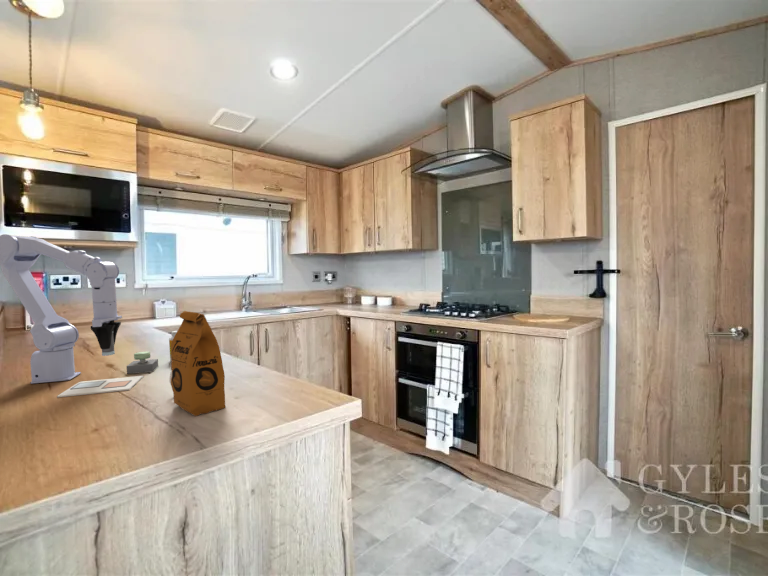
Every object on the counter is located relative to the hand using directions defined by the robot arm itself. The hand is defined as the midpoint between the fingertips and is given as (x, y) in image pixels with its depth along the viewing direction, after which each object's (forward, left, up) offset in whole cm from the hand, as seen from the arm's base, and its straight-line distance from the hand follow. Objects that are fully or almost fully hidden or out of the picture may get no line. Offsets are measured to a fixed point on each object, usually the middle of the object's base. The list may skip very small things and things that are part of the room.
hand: (107, 347), depth 116 cm
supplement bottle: (+16, +17, -9) cm, 25 cm away
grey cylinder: (0, 0, -2) cm, 2 cm away
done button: (+7, +6, -8) cm, 12 cm away
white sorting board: (+2, -10, -9) cm, 13 cm away
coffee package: (+30, -37, -9) cm, 49 cm away
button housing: (+7, +6, -9) cm, 13 cm away
